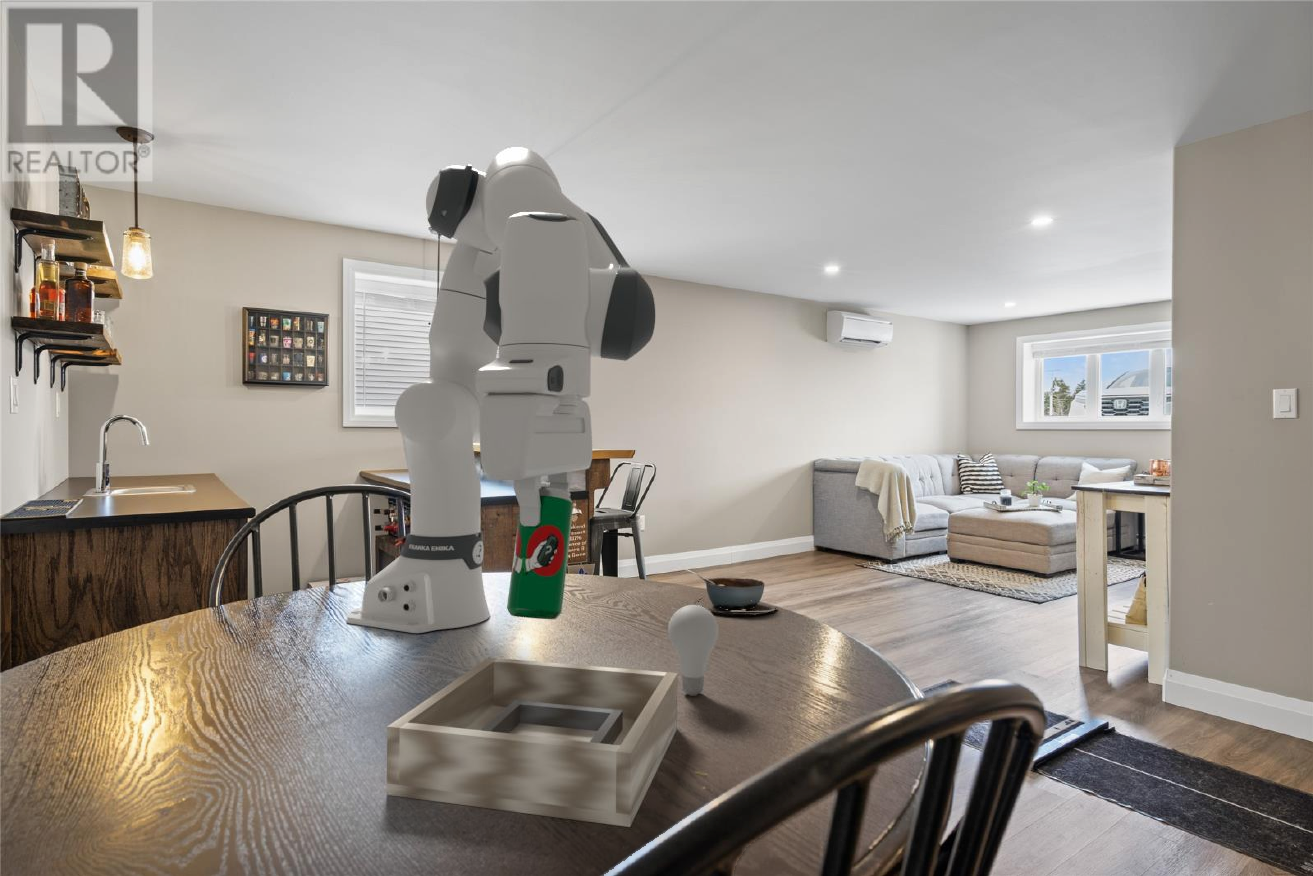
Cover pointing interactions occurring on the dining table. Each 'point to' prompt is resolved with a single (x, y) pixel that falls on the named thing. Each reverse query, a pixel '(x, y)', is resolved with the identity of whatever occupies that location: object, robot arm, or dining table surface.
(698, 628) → the lightbulb
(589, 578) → the dining table surface
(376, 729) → the dining table surface
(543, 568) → the soda can
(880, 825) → the dining table surface
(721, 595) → the soup bowl
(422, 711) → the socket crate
